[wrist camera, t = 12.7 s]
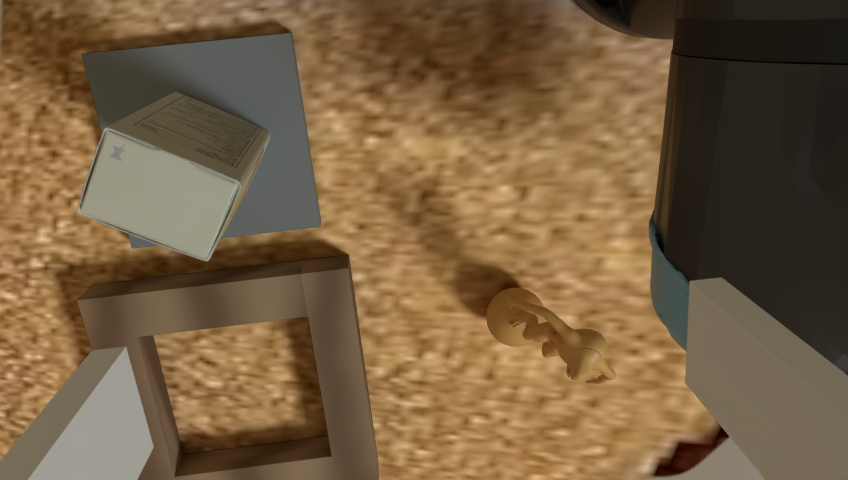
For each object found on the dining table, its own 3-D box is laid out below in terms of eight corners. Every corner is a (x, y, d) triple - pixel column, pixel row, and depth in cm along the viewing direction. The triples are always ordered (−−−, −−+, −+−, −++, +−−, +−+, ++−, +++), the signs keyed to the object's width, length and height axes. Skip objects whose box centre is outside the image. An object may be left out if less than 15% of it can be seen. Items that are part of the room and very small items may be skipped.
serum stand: (348, 254, 45) (347, 268, 42) (378, 463, 50) (379, 485, 48) (92, 284, 44) (76, 300, 42) (151, 493, 50) (141, 517, 47)
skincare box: (151, 154, 40) (65, 211, 29) (175, 88, 39) (95, 121, 28) (251, 196, 42) (208, 267, 30) (277, 134, 41) (242, 183, 29)
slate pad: (292, 32, 40) (290, 33, 39) (321, 222, 44) (320, 226, 43) (88, 53, 39) (81, 54, 38) (137, 243, 43) (131, 248, 42)
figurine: (448, 286, 46) (475, 376, 35) (512, 226, 45) (561, 300, 34) (527, 358, 48) (576, 464, 37) (589, 303, 47) (659, 395, 36)
